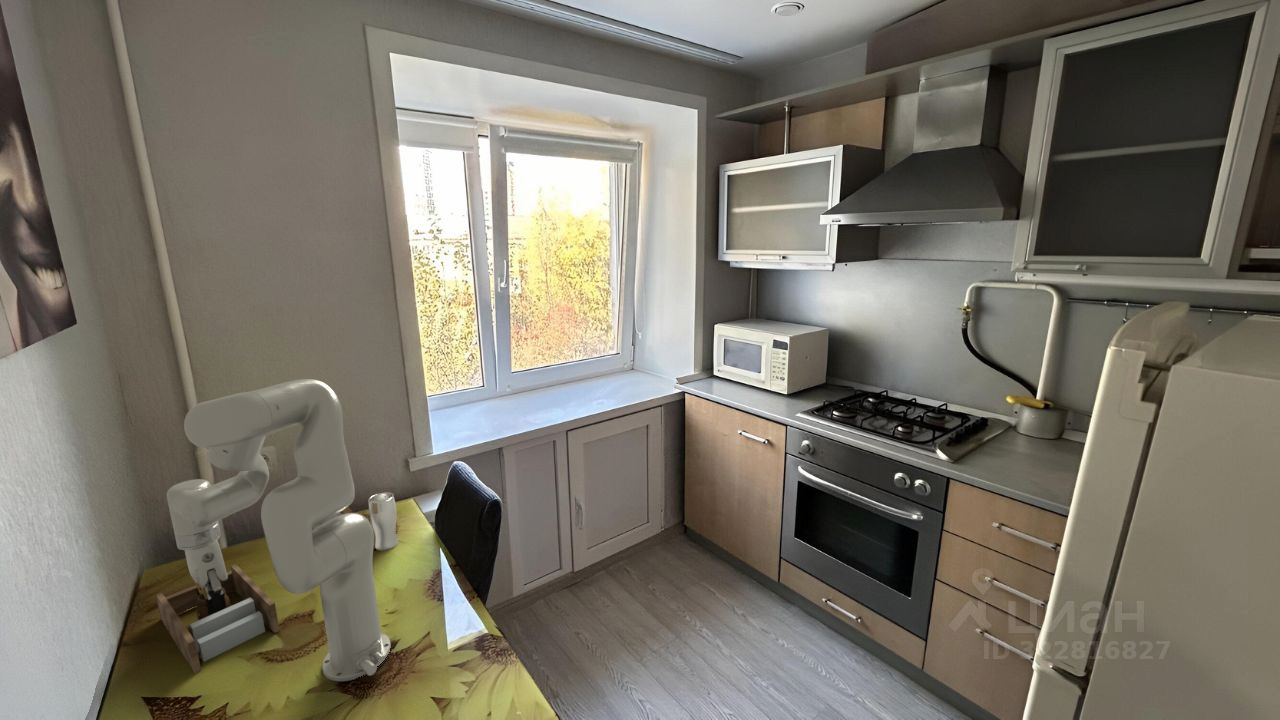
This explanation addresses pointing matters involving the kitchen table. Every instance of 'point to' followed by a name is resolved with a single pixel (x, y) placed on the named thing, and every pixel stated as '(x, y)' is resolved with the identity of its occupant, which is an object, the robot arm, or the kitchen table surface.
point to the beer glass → (383, 520)
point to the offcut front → (230, 636)
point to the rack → (188, 599)
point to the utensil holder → (201, 602)
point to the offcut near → (221, 619)
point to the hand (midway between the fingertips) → (212, 605)
